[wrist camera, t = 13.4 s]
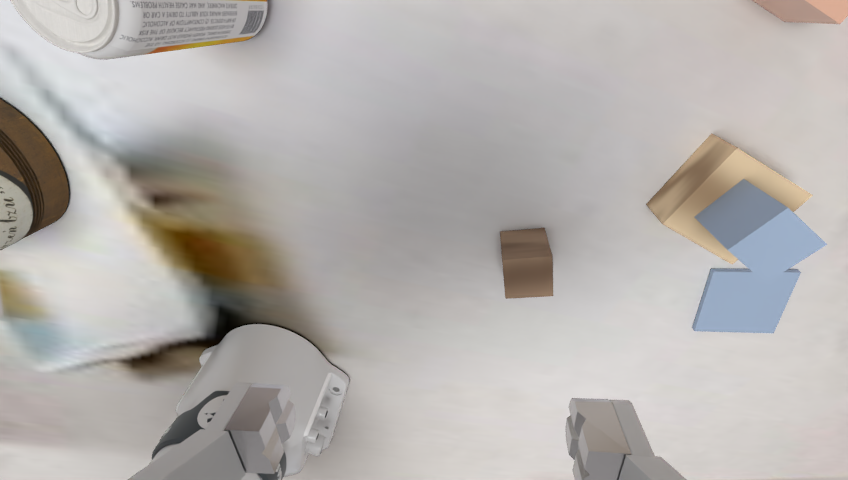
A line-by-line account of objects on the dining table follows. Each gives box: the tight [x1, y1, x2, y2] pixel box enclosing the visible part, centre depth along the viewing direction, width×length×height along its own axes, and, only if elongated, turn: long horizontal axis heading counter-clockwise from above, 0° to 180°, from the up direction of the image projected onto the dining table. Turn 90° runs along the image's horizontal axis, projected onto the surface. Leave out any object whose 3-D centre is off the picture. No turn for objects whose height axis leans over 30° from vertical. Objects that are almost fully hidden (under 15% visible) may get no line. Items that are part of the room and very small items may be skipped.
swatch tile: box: [692, 269, 801, 333], centre depth 38 cm, size 7×7×1 cm
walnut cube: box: [500, 228, 553, 298], centre depth 37 cm, size 4×4×5 cm
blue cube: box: [695, 179, 827, 283], centre depth 29 cm, size 4×4×5 cm
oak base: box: [646, 134, 813, 264], centre depth 32 cm, size 7×7×4 cm
